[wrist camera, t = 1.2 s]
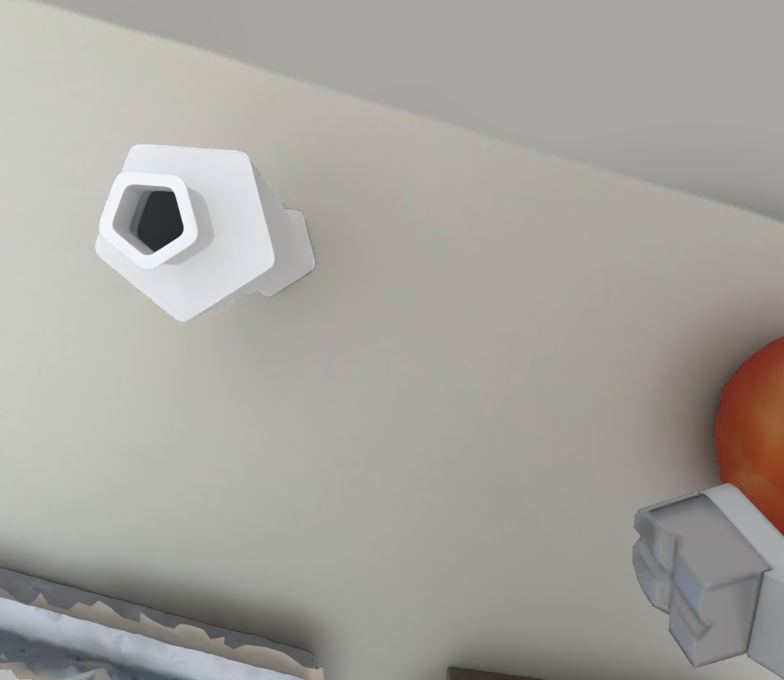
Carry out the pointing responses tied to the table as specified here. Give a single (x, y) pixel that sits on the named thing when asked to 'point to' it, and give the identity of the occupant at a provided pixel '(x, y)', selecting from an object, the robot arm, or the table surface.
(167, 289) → the perfume bottle
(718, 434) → the tomato
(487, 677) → the rack
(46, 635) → the picture frame
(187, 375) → the table surface
